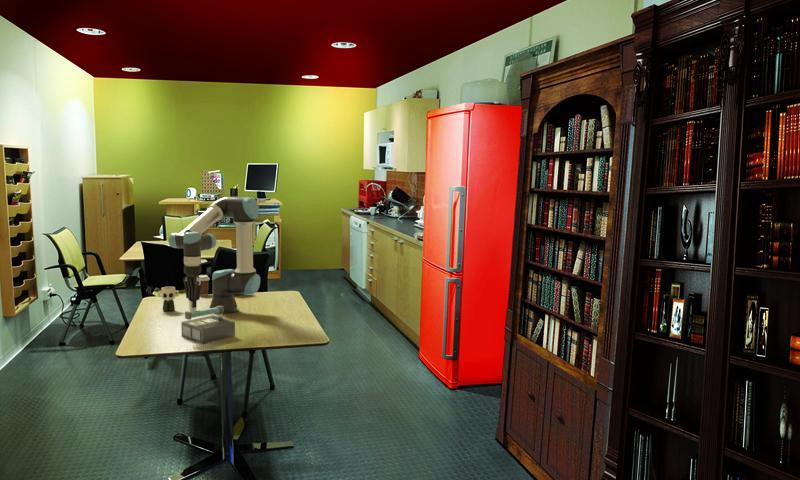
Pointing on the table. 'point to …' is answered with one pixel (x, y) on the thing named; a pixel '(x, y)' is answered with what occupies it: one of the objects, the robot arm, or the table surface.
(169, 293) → the big eared figurine
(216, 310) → the cable arm
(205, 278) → the coffee cup
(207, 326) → the box
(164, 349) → the table surface
